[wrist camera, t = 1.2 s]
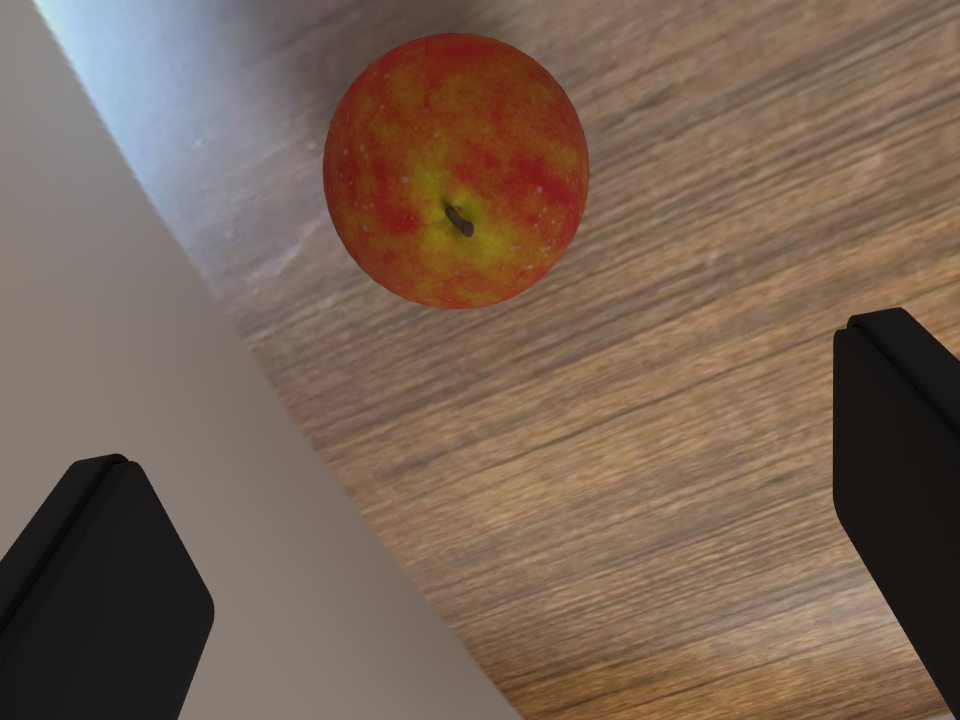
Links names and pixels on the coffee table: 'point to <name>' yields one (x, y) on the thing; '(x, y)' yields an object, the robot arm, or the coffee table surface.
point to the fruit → (456, 171)
